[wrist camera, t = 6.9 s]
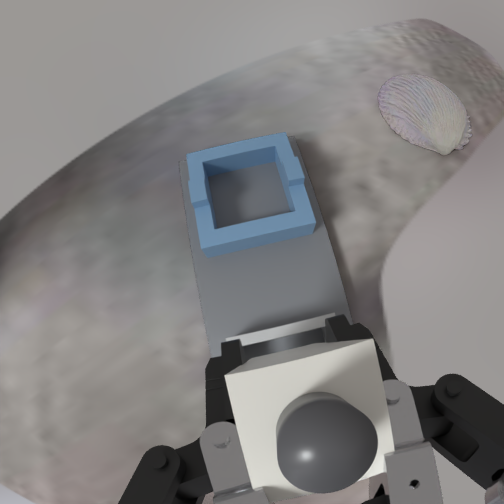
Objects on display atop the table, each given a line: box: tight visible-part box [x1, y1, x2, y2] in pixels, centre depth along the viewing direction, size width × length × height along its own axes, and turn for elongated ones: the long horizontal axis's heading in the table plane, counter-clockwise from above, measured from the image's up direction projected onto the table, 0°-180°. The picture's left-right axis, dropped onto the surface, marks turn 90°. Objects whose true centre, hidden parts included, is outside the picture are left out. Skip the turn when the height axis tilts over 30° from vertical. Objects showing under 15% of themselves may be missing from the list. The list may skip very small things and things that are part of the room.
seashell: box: [378, 74, 472, 155], centre depth 23 cm, size 10×6×10 cm
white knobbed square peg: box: [224, 338, 395, 502], centre depth 10 cm, size 3×3×12 cm
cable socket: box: [179, 132, 353, 361], centre depth 19 cm, size 21×9×4 cm, turn 12°
